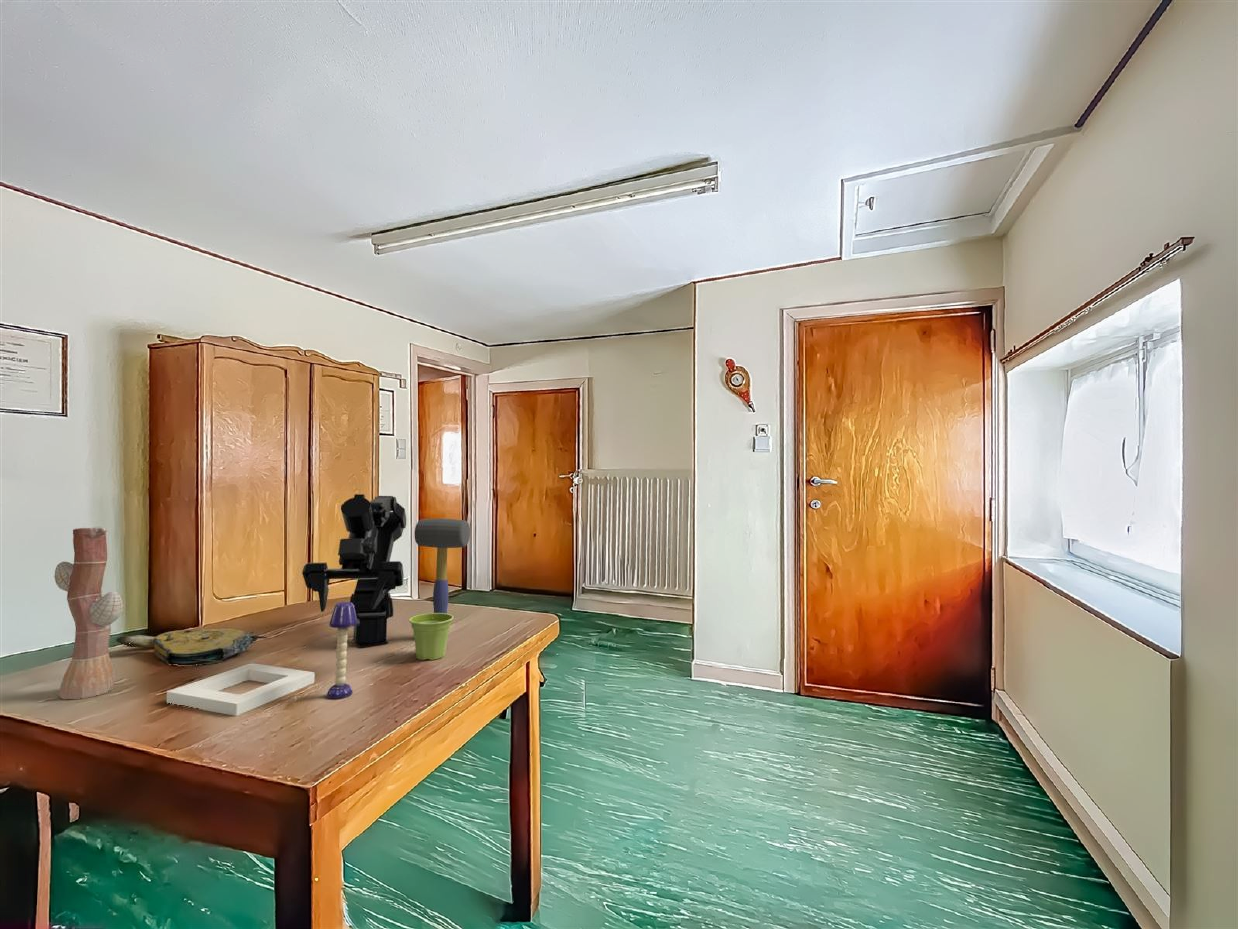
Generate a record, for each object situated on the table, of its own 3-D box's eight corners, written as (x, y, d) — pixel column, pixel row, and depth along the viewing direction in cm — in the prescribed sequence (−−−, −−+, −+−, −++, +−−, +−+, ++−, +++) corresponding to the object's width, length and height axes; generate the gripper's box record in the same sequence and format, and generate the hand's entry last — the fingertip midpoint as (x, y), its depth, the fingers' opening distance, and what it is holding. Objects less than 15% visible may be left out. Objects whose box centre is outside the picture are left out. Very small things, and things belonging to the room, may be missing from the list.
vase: (127, 687, 103) (134, 526, 104) (80, 702, 96) (88, 529, 97) (86, 681, 106) (94, 524, 107) (38, 695, 99) (46, 527, 100)
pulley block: (154, 615, 131) (269, 622, 127) (157, 638, 132) (271, 646, 128) (90, 641, 117) (216, 650, 113) (93, 667, 118) (219, 677, 114)
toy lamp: (327, 691, 103) (331, 601, 104) (355, 688, 105) (358, 599, 106) (325, 700, 99) (328, 607, 100) (354, 697, 101) (357, 605, 101)
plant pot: (424, 666, 118) (425, 625, 118) (399, 657, 124) (401, 618, 124) (460, 655, 126) (461, 617, 126) (436, 647, 131) (437, 610, 132)
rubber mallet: (408, 641, 136) (412, 518, 137) (422, 632, 143) (425, 516, 144) (458, 643, 135) (461, 520, 136) (468, 634, 142) (472, 518, 143)
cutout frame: (250, 673, 112) (251, 663, 112) (314, 682, 107) (314, 672, 108) (166, 703, 97) (166, 691, 97) (236, 716, 92) (236, 703, 92)
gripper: (306, 523, 113) (286, 587, 102) (403, 523, 118) (394, 585, 107) (316, 556, 121) (298, 620, 110) (406, 555, 125) (398, 616, 114)
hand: (347, 609), depth 110 cm, fingers open, 9 cm apart
